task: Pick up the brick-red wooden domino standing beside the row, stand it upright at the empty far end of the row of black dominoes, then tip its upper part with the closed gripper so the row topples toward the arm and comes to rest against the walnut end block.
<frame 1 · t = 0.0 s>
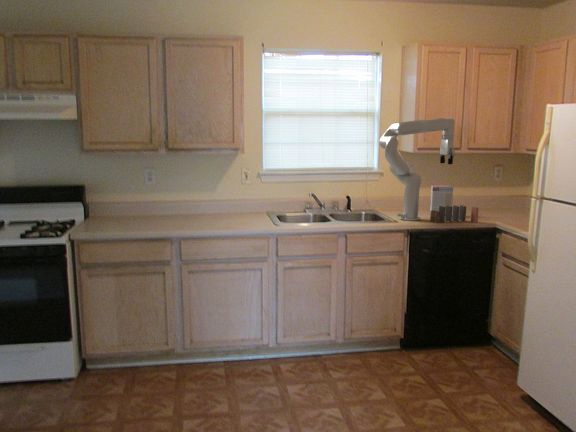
hand: (446, 163, 340), 37 cm above the worktop, tool pointing down, fingers open, 9 cm apart
domino b: (448, 221, 335), on the worktop
cracker box: (440, 215, 357), on the worktop
end block: (434, 221, 332), on the worktop
domino a: (441, 221, 333), on the worktop
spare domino: (474, 222, 332), on the worktop
domino c: (455, 221, 336), on the worktop
domino d: (462, 220, 337), on the worktop
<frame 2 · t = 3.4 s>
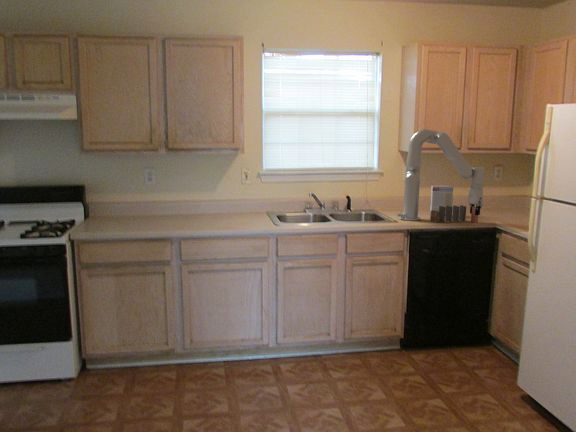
hand: (474, 214, 331), 5 cm above the worktop, tool pointing down, fingers closed on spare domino, 4 cm apart
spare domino: (474, 222, 332), on the worktop, touching gripper
everything else where it was.
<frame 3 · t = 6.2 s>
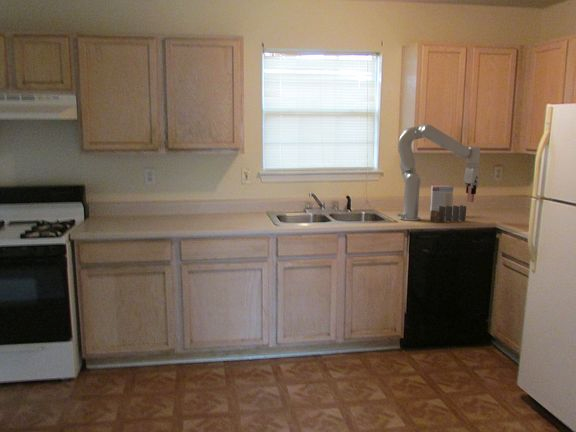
hand: (470, 193, 335), 18 cm above the worktop, tool pointing down, fingers closed on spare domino, 4 cm apart
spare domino: (470, 201, 336), point 13 cm above the worktop, touching gripper
everything else where it was.
when the fingers open (6 cm above the worktop, at t = 9.3 s): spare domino stays where it is, on the worktop.
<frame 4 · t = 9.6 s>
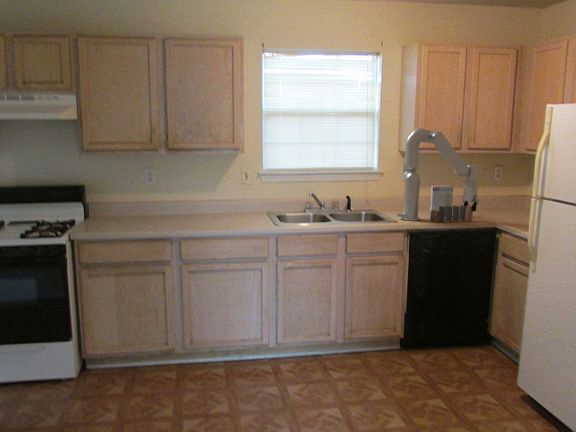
hand: (469, 210, 337), 7 cm above the worktop, tool pointing down, fingers open, 8 cm apart
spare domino: (468, 220, 338), on the worktop
everything else where it was.
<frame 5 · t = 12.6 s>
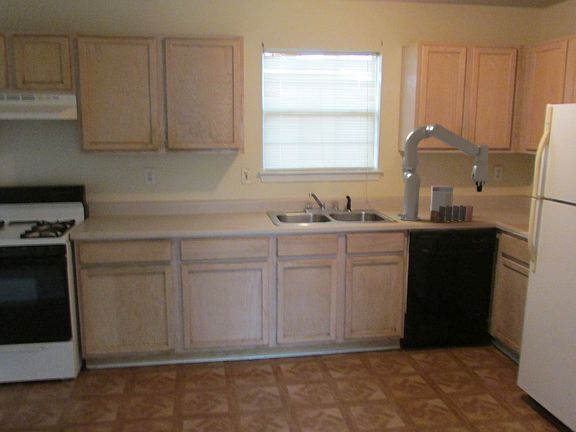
hand: (479, 191, 336), 19 cm above the worktop, tool pointing down, fingers closed
nothing on the worktop moved.
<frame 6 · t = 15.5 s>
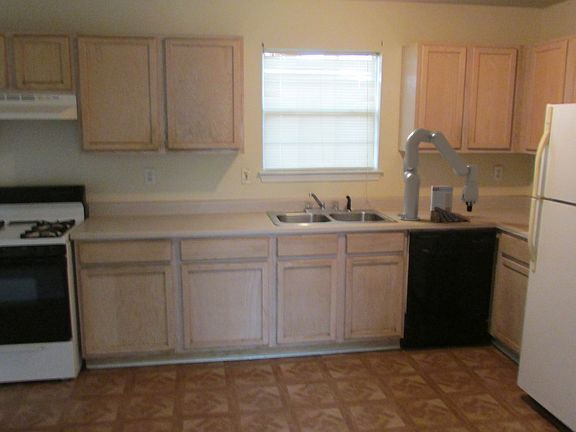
hand: (469, 211, 337), 6 cm above the worktop, tool pointing down, fingers closed
domino b: (448, 220, 334), point 1 cm above the worktop, tilted 40°, touching domino a, domino c
domino a: (441, 221, 333), on the worktop, tilted 25°, touching domino b, end block
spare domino: (467, 219, 338), point 1 cm above the worktop, tilted 65°, touching domino d
domino c: (454, 220, 335), point 1 cm above the worktop, tilted 51°, touching domino b, domino d
domino d: (461, 219, 337), point 1 cm above the worktop, tilted 60°, touching domino c, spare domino
everything else where it was.
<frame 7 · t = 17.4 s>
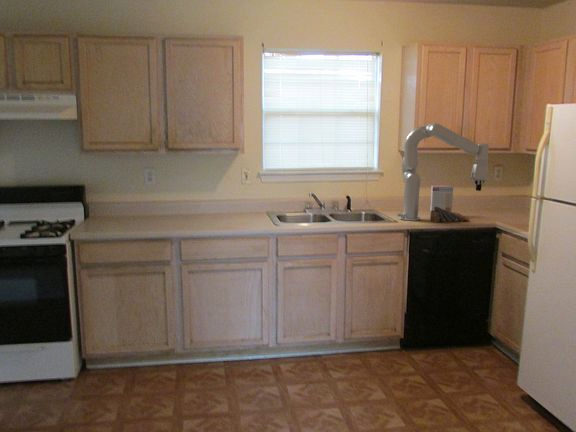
hand: (478, 190, 336), 20 cm above the worktop, tool pointing down, fingers closed
nothing on the worktop moved.
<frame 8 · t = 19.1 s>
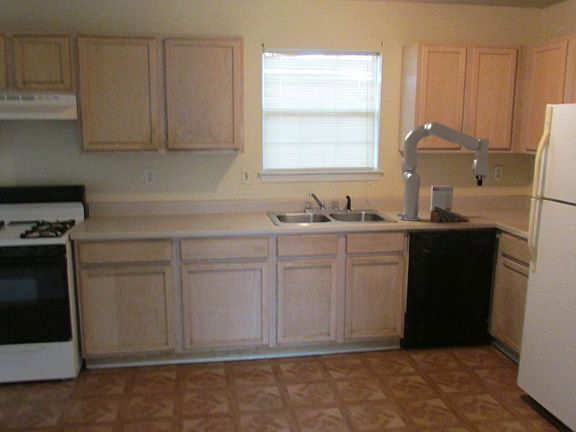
hand: (479, 185, 335), 23 cm above the worktop, tool pointing down, fingers closed
nothing on the worktop moved.
at the end: domino a tilted 25°; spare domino tilted 64°; cracker box moved 0.2 cm from its start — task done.
